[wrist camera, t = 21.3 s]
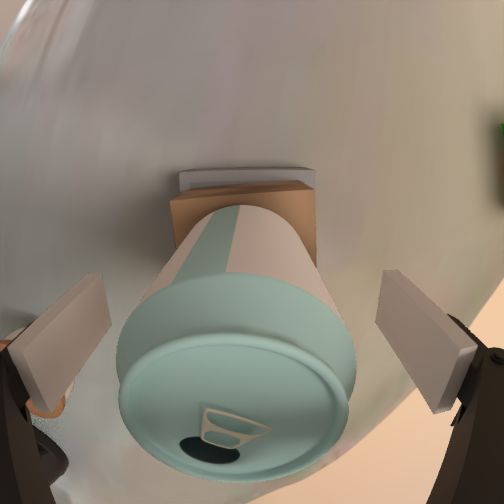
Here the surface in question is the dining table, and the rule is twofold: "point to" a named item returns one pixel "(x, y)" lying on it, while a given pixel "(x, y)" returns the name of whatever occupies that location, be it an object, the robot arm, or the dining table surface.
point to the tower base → (243, 176)
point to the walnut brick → (255, 194)
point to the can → (237, 354)
